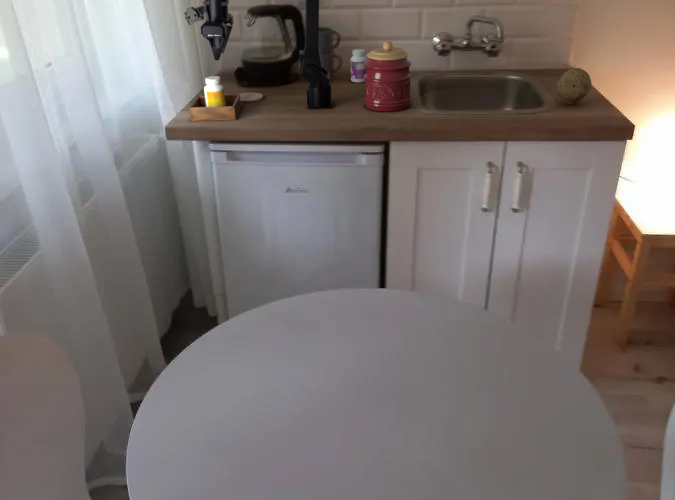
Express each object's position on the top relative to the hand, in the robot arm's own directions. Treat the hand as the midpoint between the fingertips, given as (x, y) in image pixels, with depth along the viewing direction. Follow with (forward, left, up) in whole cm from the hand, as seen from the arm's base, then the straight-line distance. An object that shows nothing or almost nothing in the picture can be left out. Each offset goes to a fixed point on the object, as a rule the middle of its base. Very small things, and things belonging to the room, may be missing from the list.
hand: (219, 56), depth 172 cm
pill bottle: (-39, -28, -15) cm, 50 cm away
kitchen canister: (-46, +1, -15) cm, 49 cm away
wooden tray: (+2, +4, -15) cm, 15 cm away
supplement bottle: (+2, +4, -14) cm, 15 cm away
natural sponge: (-97, +6, -15) cm, 98 cm away
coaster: (-5, -11, -15) cm, 19 cm away
